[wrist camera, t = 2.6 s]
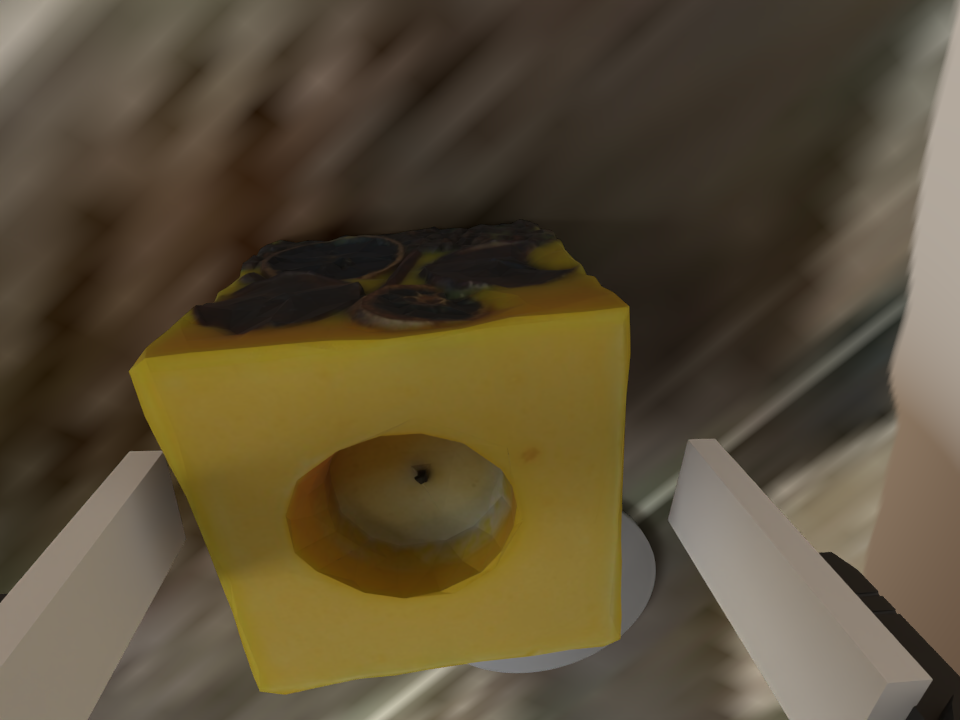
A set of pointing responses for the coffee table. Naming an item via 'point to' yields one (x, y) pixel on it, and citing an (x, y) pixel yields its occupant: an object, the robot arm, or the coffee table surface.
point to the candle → (402, 450)
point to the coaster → (633, 601)
